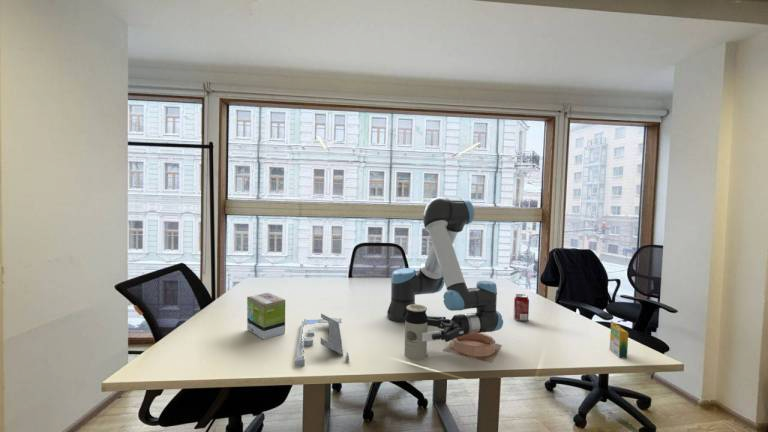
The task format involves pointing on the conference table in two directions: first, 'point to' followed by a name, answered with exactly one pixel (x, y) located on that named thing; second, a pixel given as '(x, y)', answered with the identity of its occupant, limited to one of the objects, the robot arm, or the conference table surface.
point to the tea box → (266, 315)
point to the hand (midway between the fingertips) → (414, 330)
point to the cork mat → (487, 358)
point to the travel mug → (415, 332)
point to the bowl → (474, 345)
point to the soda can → (521, 307)
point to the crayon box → (618, 340)
